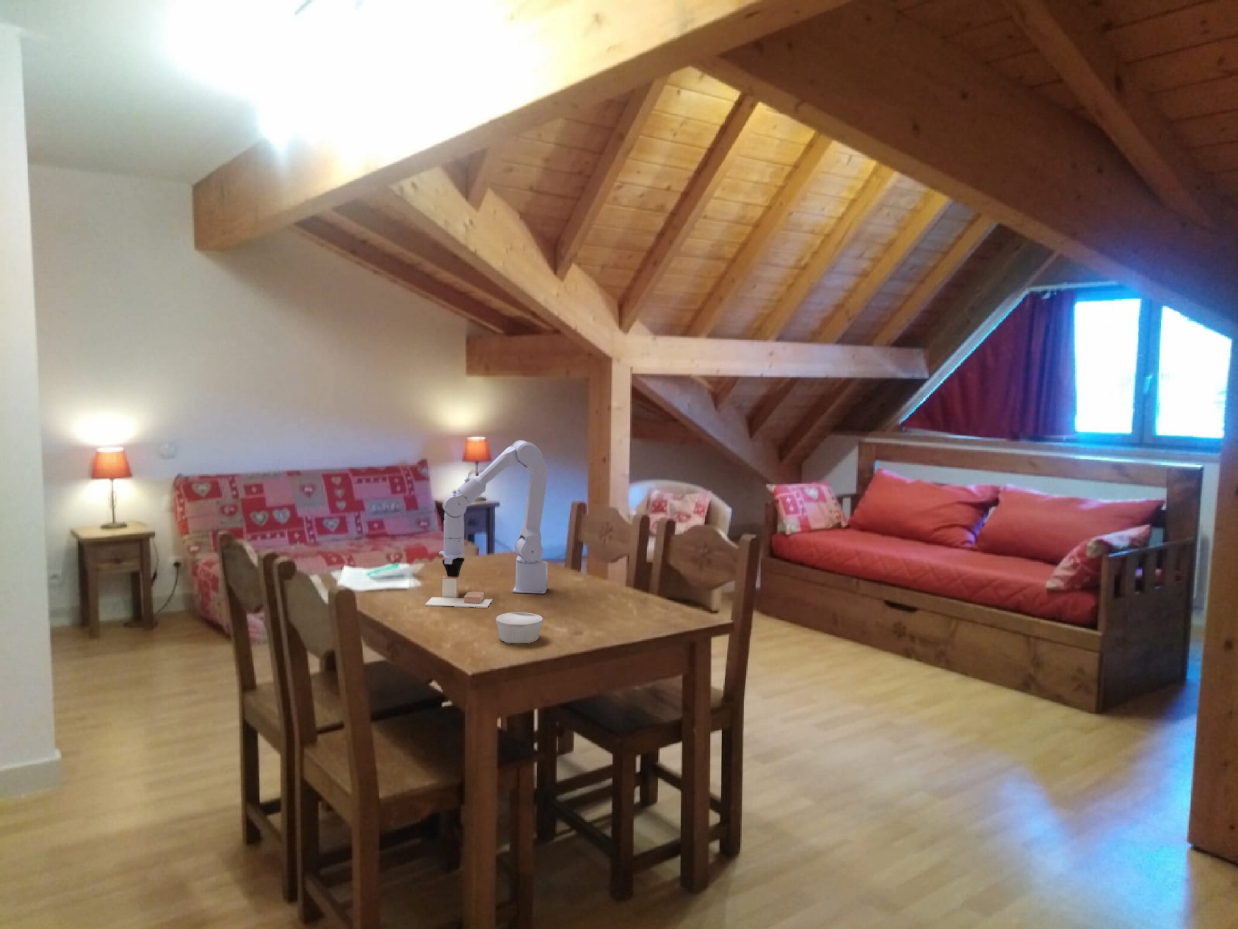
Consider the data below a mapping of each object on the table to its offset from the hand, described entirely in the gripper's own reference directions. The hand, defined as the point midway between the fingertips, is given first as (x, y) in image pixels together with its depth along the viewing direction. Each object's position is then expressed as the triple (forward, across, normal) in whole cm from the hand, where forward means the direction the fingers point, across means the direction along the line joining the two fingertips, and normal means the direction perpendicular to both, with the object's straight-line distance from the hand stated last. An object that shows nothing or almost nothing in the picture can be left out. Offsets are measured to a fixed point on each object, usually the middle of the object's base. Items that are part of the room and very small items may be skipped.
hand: (453, 583), depth 254 cm
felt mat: (+3, +10, +4) cm, 11 cm away
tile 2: (+2, +5, +8) cm, 9 cm away
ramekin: (+3, +40, +25) cm, 47 cm away
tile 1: (+3, +4, 0) cm, 5 cm away
